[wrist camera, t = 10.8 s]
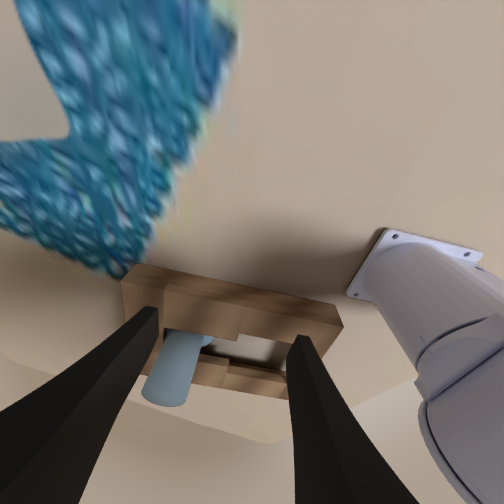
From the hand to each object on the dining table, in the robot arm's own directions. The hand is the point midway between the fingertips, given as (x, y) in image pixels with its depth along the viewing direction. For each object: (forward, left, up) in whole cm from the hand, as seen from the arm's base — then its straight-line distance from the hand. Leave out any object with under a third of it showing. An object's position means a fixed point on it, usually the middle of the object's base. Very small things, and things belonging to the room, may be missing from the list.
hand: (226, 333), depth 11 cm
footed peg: (+4, +13, -10) cm, 17 cm away
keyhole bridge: (-1, +13, -10) cm, 17 cm away
